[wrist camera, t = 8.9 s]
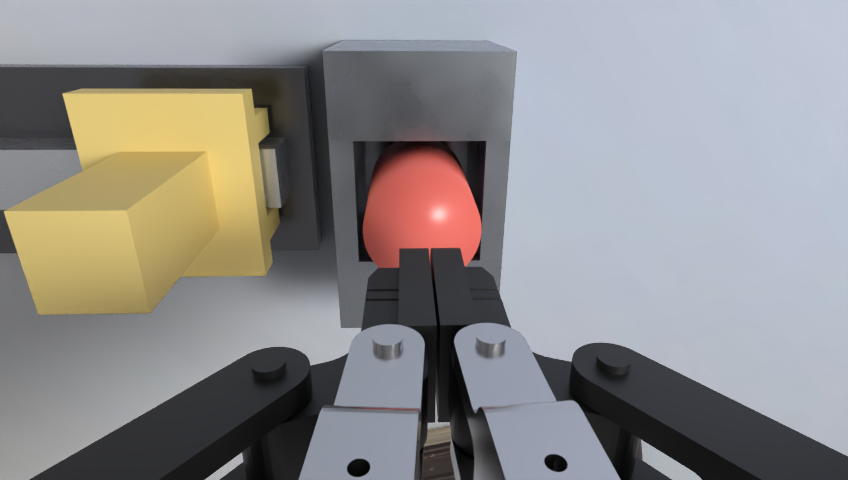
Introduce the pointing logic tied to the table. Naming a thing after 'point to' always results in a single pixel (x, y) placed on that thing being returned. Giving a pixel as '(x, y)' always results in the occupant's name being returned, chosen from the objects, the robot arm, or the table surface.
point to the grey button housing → (415, 135)
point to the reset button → (419, 203)
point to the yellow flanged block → (148, 200)
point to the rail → (271, 88)
